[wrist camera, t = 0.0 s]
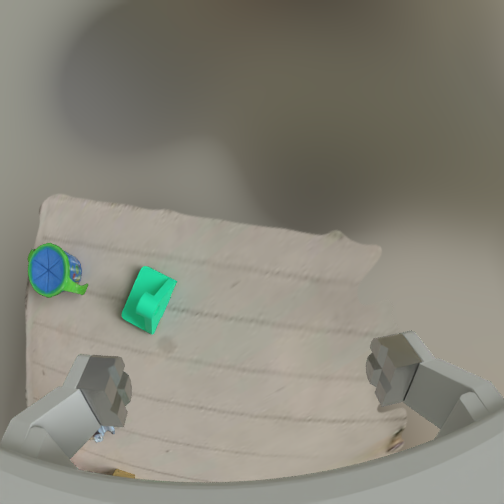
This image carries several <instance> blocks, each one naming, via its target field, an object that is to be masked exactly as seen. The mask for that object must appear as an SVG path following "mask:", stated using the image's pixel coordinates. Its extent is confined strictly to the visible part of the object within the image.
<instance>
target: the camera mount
mask: <svg viewBox="0 0 504 504" xmlns="http://www.w3.org/2000/svg"><path fill="white" fill-rule="evenodd" d="M176 283H177V281H176V280H174V279H172V278H170V277H168V276H166V275H164V274H162V273H160V272H158V271H156V270H154V269H152V268H150V267H147V266H144V267H142V268H141V270H140V272H139V274H138V277H137V279H136V281H135V283H134V286H133V288H132V290H131V292H130V295H129V297H128V300H127V302H126V304H125V307H124V309H123V311H122V318H123V319H124V320H126V321H128V322H130V323H131V324H133V325H135V326H137V327H139V328H141V329H143V330H144V331H146V332H148V333H150V334H154V332H155V330H156V328H157V325H158V323H159V321H160V318H161V317H162V316H163V313H164V311H165V309H166V307H167V304H168V302H169V300H170V298H171V297H170V296H171V294H172V292H173V289H174V287H175V285H176Z"/></svg>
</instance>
